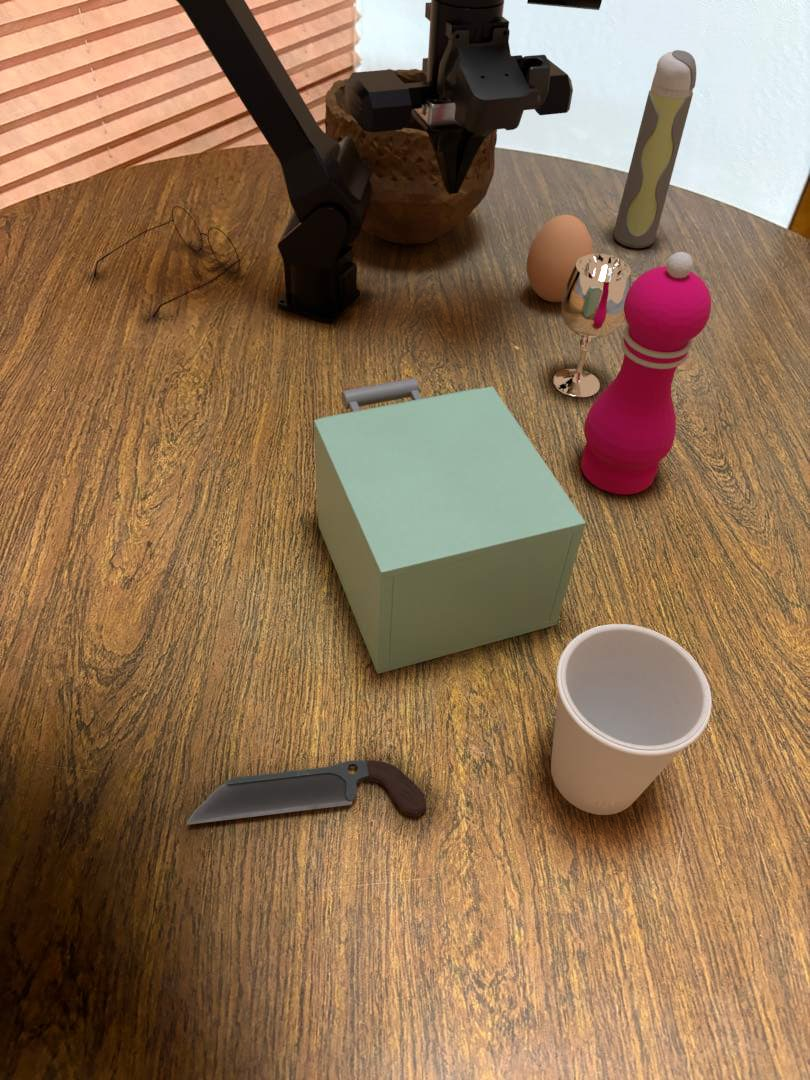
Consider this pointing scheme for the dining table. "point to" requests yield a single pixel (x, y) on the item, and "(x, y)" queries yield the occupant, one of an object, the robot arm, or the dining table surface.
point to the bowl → (408, 174)
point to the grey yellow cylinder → (656, 150)
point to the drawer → (382, 394)
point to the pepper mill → (645, 378)
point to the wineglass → (592, 313)
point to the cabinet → (442, 525)
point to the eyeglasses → (188, 246)
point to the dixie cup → (623, 714)
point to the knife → (306, 791)
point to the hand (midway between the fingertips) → (451, 192)
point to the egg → (556, 255)
